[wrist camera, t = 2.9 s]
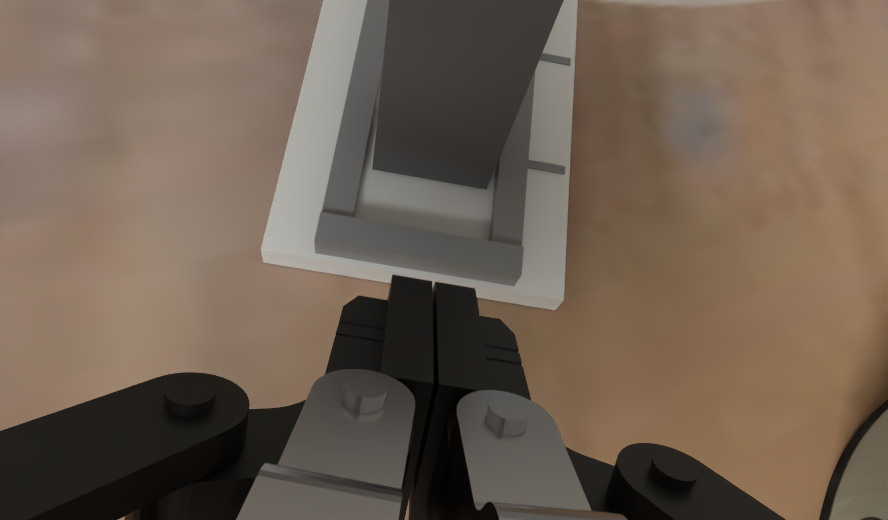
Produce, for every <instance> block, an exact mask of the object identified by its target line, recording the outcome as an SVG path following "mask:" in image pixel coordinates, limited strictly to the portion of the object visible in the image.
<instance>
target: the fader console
mask: <svg viewBox="0 0 888 520" xmlns="http://www.w3.org/2000/svg"><path fill="white" fill-rule="evenodd" d="M577 7H578V0H564V1H563V3H562V6H561V8H560V11H559V13H558V16H557V18H556V21H555V23H554V25H553V28H552V30H551V33H550V35H549V38H548V40H547V43H546V45H545V48H544V50H543V52H542V55H541V57H540V60H539V62H538V65H537V67H536V70H535V72H534V75H533V77H532V79H531V82H530V84H529V87H528V89H527V92H526V94H525V97H524V99H523V102H522V104H521V106H520V109H519V111H518V114H517V116H516V119H515V121H514V124H513V126H512V129H511V131H510V133H509V136H508V138H507V141H506V143H505V146H504V148H503V151H502V153H501V156H500V158H499V160H498V163H497V165H496V168H495V170H494V173H493V175H492V178H491V180H490V183H489V185H488V187H487V190H486V189H480V188H474V187H469V186H463V185H457V184H452V183H446V182H441V181H435V180H429V179H424V178H418V177H412V176H407V175H401V174H396V173H390V172H384V171H379V170H373V169H372V167H373V157H374V147H375V137H376V127H377V117H378V108H379V98H380V88H381V78H382V68H383V58H384V48H385V39H386V29H387V19H388V9H389V0H324V1H323V5H322V8H321V12H320V16H319V20H318V24H317V28H316V32H315V36H314V40H313V44H312V48H311V52H310V56H309V60H308V64H307V68H306V72H305V76H304V80H303V84H302V88H301V92H300V96H299V100H298V104H297V108H296V112H295V116H294V120H293V124H292V128H291V132H290V136H289V140H288V144H287V148H286V151H285V155H284V159H283V163H282V167H281V171H280V175H279V179H278V183H277V187H276V191H275V195H274V199H273V203H272V207H271V211H270V215H269V219H268V223H267V227H266V231H265V235H264V239H263V243H262V247H261V254H262V258H263V262H264V263H270V264H276V265H282V266H288V267H294V268H300V269H306V270H312V271H318V272H324V273H331V274H337V275H343V276H349V277H355V278H361V279H367V280H373V281H379V282H385V283H391V279H392V274H393V275H399V276H405V277H411V278H417V279H423V280H428V281H432V290H433V286H434V283H435V282H441V283H447V284H453V285H458V286H464V287H470V288H475V290H476V297H477V298H483V299H489V300H495V301H501V302H507V303H513V304H519V305H526V306H532V307H538V308H544V309H550V310H556V309H557V307H558V306H559V305H560V304H561V303H562V302H563V300H564V284H565V263H566V241H567V220H568V199H569V178H570V156H571V135H572V114H573V92H574V71H575V50H576V28H577Z"/></svg>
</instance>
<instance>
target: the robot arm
mask: <svg viewBox="0 0 888 520" xmlns="http://www.w3.org/2000/svg"><path fill="white" fill-rule="evenodd" d="M521 364H522V362H521V358H520V354H519V353H518V346H517V342H516V338H515V334H514V333H513V332H512V331H511V330H510V329H509V328H508V327H507V326H506V325H505V324H504V323H503V322H502V321H501V320H500V319H496V318H490V317H484V316H479V309H478V303H477V297H476V290H475V288H470V287H464V286H458V285H453V284H447V283H441V282H435V283H434V286H433V290H432V281H428V280H423V279H417V278H411V277H405V276H399V275H393V274H392V279H391V284H390V289H389V295H388V300H382V299H376V298H370V297H364V296H357V297H356V298H355V299H353V300H352V301H350V302H349V303H347V304H346V305H345V306H343V309H342V313H341V317H340V321H339V324H338V328H337V332H336V336H335V339H334V343H333V347H332V351H331V354H330V358H329V362H328V365H327V369H326V373H325V375H323V376H322V377H320V378H319V379H318V380H317V381H316V382H315V383H314V384H313V386H312V388H311V390H310V393H309V395H308V397H307V399H306V400H304V401H302V402H300V403H297V404H294V405H290V406H285V407H280V408H268V409H249V399H248V397H247V394H246V393H245V392H244V391H243V389H242V388H240V387H239V386H238V385H237V384H235V383H233V382H232V381H230V380H227V379H225V378H222V377H219V376H215V375H211V374H205V373H175V374H169V375H164V376H161V377H157V378H154V379H151V380H148V381H146V382H143V383H140V384H137V385H134V386H131V387H128V388H125V389H122V390H119V391H116V392H113V393H110V394H108V395H105V396H102V397H99V398H96V399H93V400H90V401H87V402H84V403H81V404H78V405H75V406H72V407H70V408H67V409H64V410H61V411H58V412H55V413H52V414H49V415H46V416H43V417H40V418H37V419H34V420H32V421H29V422H26V423H23V424H20V425H17V426H14V427H11V428H8V429H5V430H2V431H0V520H118V519H120V518H122V517H124V516H125V520H404V519H405V514H406V510H407V505H408V500H409V520H786V519H784V518H783V517H781V516H780V515H778V514H777V513H775V512H774V511H772V510H771V509H769V508H768V507H766V506H765V505H763V504H762V503H760V502H759V501H757V500H756V499H754V498H753V497H751V496H750V495H748V494H747V493H745V492H744V491H742V490H741V489H739V488H738V487H736V486H735V485H733V484H732V483H730V482H729V481H727V480H726V479H725V478H723V477H722V476H720V475H719V474H717V473H716V472H714V471H713V470H711V469H710V468H708V467H707V466H705V465H704V464H702V463H701V462H699V461H698V460H696V459H694V458H693V457H691V456H689V455H687V454H685V453H683V452H680V451H678V450H676V449H673V448H670V447H667V446H663V445H658V444H651V443H637V444H632V445H629V446H627V447H625V448H623V449H622V450H621V451H620V453H619V455H618V457H617V460H616V463H615V466H612V465H610V464H607V463H604V462H601V461H598V460H596V459H593V458H590V457H587V456H584V455H582V454H579V453H577V452H575V451H573V450H571V449H569V448H567V447H565V445H564V443H563V440H562V438H561V435H560V433H559V430H558V428H557V426H556V423H555V422H554V420H553V418H552V417H551V416H550V414H549V413H548V412H546V411H545V410H544V409H543V408H542V407H540V406H539V405H538V404H536V403H534V402H532V401H531V398H530V394H529V390H528V386H527V382H526V378H525V374H524V370H523V366H521Z"/></svg>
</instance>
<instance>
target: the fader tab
mask: <svg viewBox="0 0 888 520" xmlns="http://www.w3.org/2000/svg"><path fill="white" fill-rule="evenodd" d="M563 1H564V0H389V9H388V19H387V29H386V39H385V48H384V58H383V68H382V78H381V88H380V98H379V108H378V117H377V127H376V137H375V147H374V157H373V167H372V169H373V170H379V171H384V172H390V173H396V174H401V175H407V176H412V177H418V178H424V179H429V180H435V181H441V182H446V183H452V184H457V185H463V186H469V187H474V188H480V189H486V190H487V187H488V185H489V183H490V180H491V178H492V175H493V173H494V170H495V168H496V165H497V163H498V160H499V158H500V156H501V153H502V151H503V148H504V146H505V143H506V141H507V138H508V136H509V133H510V131H511V129H512V126H513V124H514V121H515V119H516V116H517V114H518V111H519V109H520V106H521V104H522V102H523V99H524V97H525V94H526V92H527V89H528V87H529V84H530V82H531V79H532V77H533V75H534V72H535V70H536V67H537V65H538V62H539V60H540V57H541V55H542V52H543V50H544V48H545V45H546V43H547V40H548V38H549V35H550V33H551V30H552V28H553V25H554V23H555V21H556V18H557V16H558V13H559V11H560V8H561V6H562V3H563Z"/></svg>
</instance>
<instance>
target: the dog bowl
mask: <svg viewBox="0 0 888 520" xmlns="http://www.w3.org/2000/svg"><path fill="white" fill-rule="evenodd" d="M819 520H888V400H887V401H886V402H885V403H884V404H883V405H882V406H880V407H879V408H878V409H877V410H876V411H875V412H874V413H873V414H872V415H871V416H870V417H869V418H868V419H867V421H866V422H865V423H864V424H863V425H862V426H861V427H860V428H859V429H858V431H857V433H856V435H854V437H853V440H851V442H850V443H849V444H848V446H847V448H846V449H845V451H844V453H843V455H842V457H841V459H840V461H839V463H838V465H837V467H836V469H835V471H834V473H833V475H832V478H831V480H830V483H829V485H828V489H827V492H826V496H825V500H824V503H823V507H822V511H821V515H820V519H819Z"/></svg>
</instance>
